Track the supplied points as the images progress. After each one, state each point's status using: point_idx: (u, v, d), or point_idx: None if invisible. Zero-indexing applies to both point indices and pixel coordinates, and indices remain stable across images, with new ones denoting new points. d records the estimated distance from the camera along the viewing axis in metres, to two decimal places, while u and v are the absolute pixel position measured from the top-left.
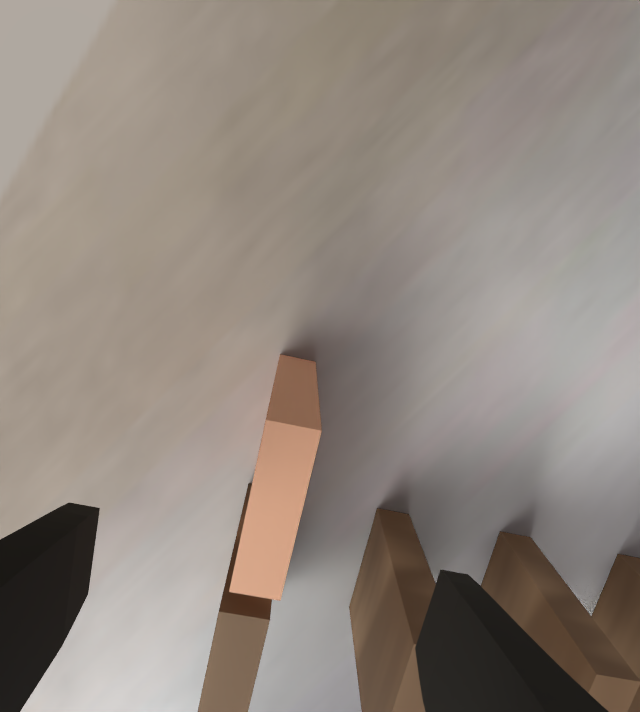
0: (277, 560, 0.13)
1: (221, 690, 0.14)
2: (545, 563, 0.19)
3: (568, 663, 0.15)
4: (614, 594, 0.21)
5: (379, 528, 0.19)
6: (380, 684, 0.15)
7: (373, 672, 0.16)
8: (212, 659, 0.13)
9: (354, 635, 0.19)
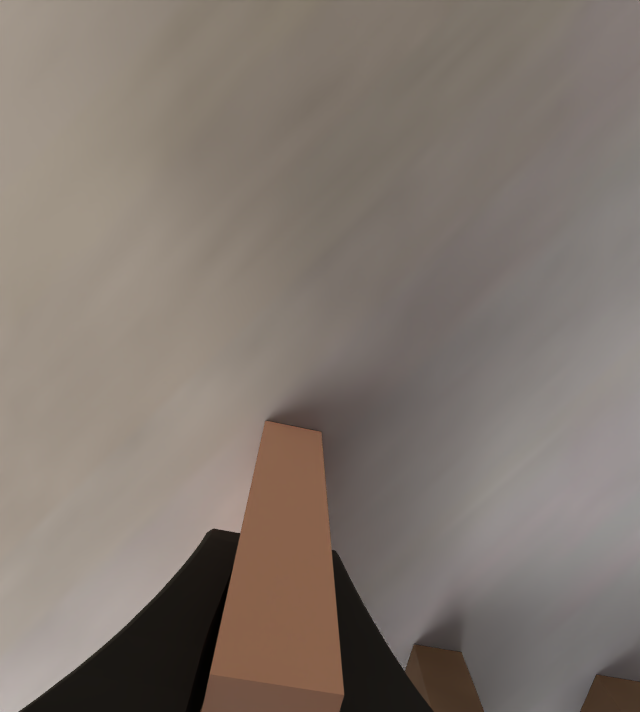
0: None
1: None
2: None
3: None
4: None
5: (420, 688, 0.12)
6: None
7: None
8: None
9: None
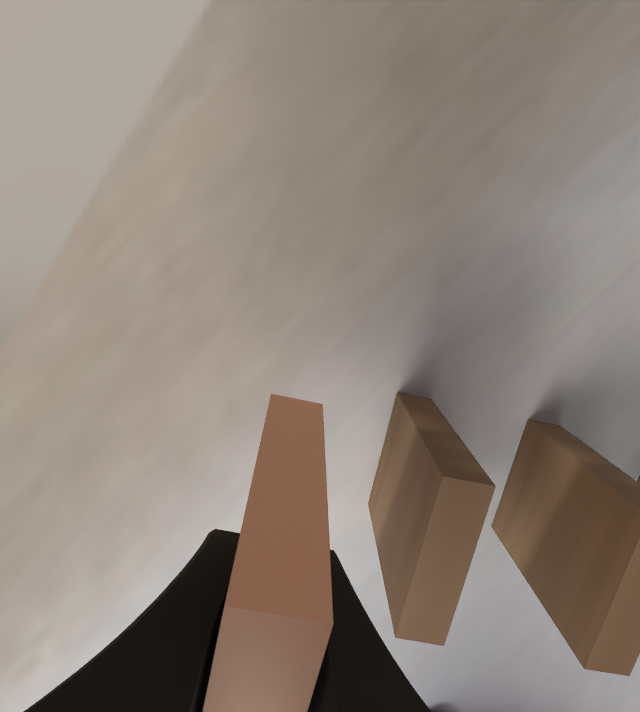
0: None
1: (436, 567, 0.13)
2: None
3: None
4: None
5: (538, 436, 0.18)
6: (582, 575, 0.15)
7: (564, 568, 0.15)
8: (430, 531, 0.12)
9: (510, 548, 0.19)
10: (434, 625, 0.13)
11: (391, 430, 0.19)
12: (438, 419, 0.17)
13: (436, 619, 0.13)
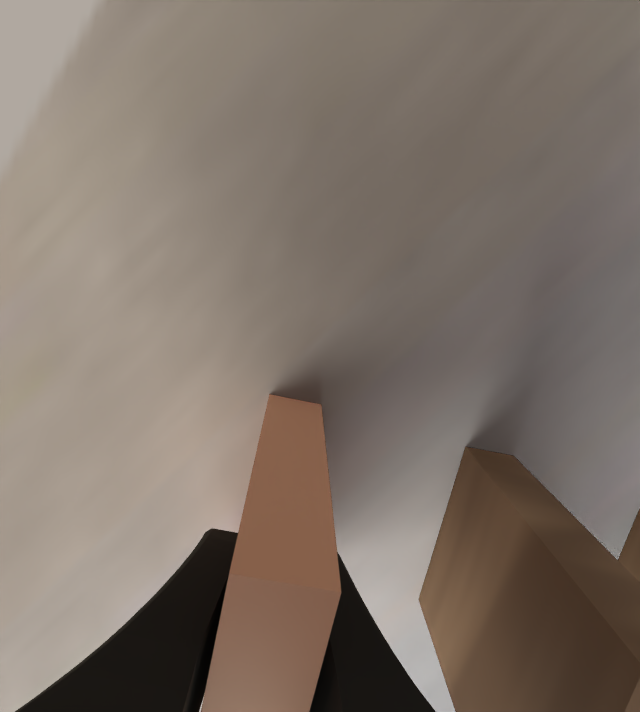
0: None
1: None
2: None
3: None
4: None
5: None
6: None
7: None
8: None
9: None
10: None
11: (459, 503, 0.13)
12: (546, 499, 0.11)
13: None
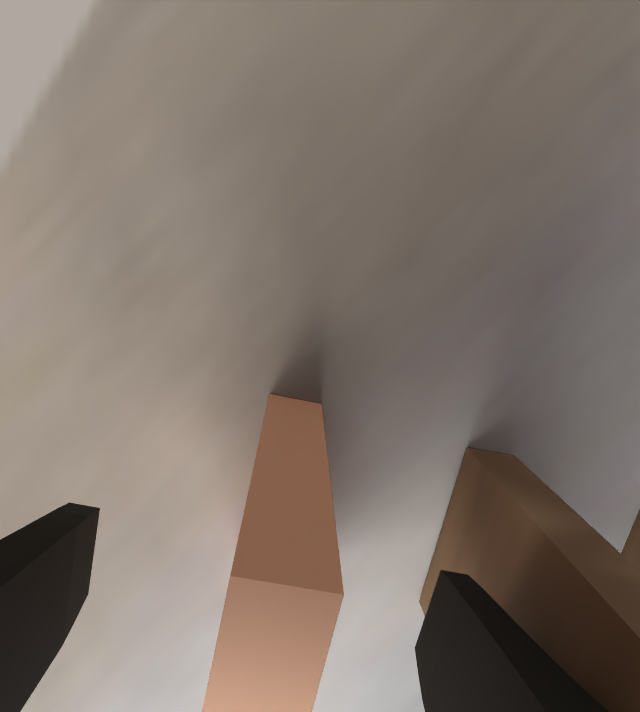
0: None
1: None
2: None
3: None
4: None
5: None
6: None
7: None
8: None
9: None
10: None
11: (462, 505, 0.13)
12: (553, 501, 0.11)
13: None
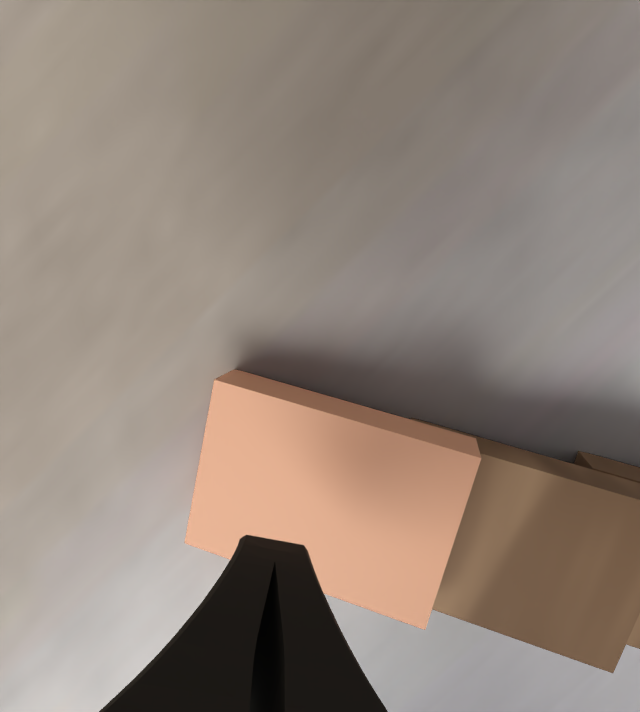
0: None
1: None
2: None
3: None
4: None
5: None
6: None
7: None
8: None
9: None
10: None
11: None
12: (494, 444, 0.14)
13: None
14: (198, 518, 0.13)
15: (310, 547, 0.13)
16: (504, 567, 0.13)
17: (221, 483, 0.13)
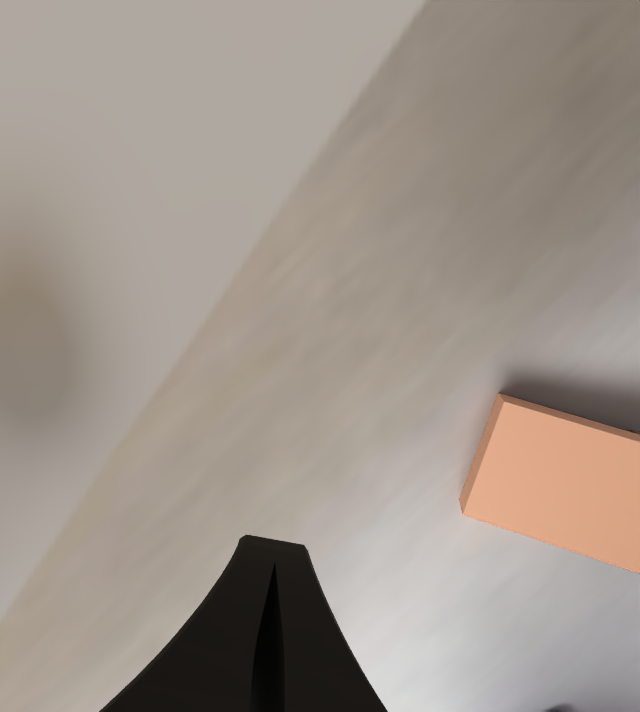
0: None
1: None
2: None
3: None
4: None
5: None
6: None
7: None
8: None
9: None
10: None
11: None
12: None
13: None
14: (476, 497, 0.19)
15: (561, 518, 0.19)
16: None
17: (498, 472, 0.19)
